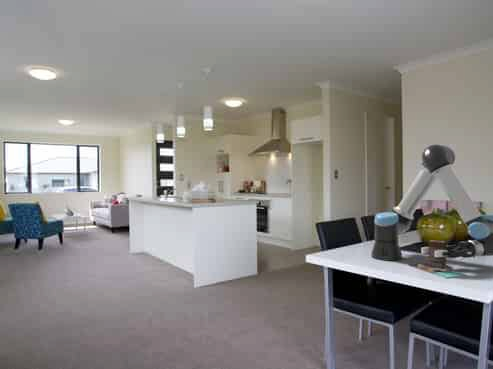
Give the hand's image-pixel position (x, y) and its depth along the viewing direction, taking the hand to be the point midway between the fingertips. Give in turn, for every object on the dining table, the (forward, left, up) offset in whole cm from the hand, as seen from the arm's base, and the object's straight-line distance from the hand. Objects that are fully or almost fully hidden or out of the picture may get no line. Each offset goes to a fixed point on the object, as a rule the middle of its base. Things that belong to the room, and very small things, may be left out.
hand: (428, 252), depth 154 cm
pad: (+7, +5, -9) cm, 12 cm away
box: (0, +5, -7) cm, 9 cm away
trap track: (-4, +5, -9) cm, 11 cm away
